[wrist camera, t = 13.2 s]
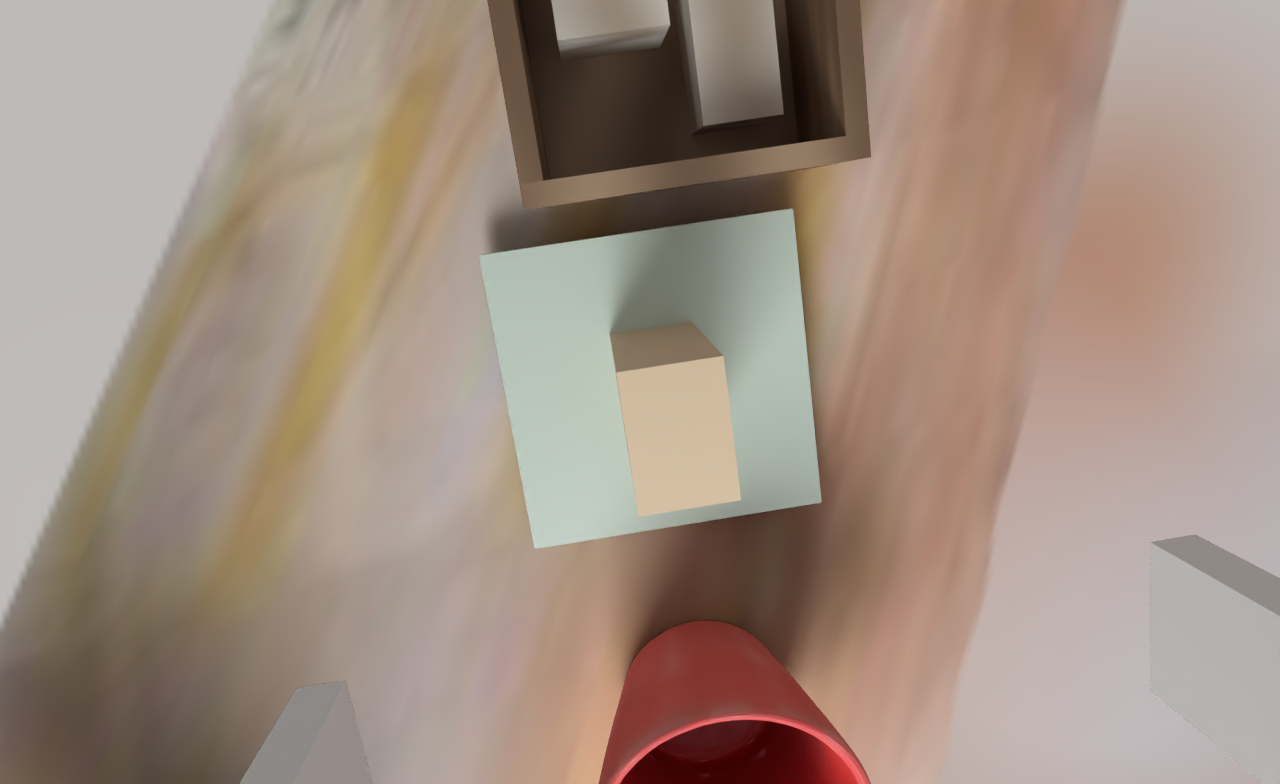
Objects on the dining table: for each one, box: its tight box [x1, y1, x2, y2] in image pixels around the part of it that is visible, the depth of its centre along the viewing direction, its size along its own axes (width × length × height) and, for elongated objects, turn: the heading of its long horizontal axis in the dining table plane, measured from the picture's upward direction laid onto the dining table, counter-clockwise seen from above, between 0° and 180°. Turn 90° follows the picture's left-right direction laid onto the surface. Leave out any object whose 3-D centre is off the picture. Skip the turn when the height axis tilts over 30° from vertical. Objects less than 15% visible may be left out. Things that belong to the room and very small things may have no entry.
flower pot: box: [599, 621, 871, 784], centre depth 35 cm, size 11×11×10 cm
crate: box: [487, 0, 871, 209], centre depth 29 cm, size 12×12×7 cm
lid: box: [479, 208, 822, 549], centre depth 31 cm, size 13×13×10 cm
